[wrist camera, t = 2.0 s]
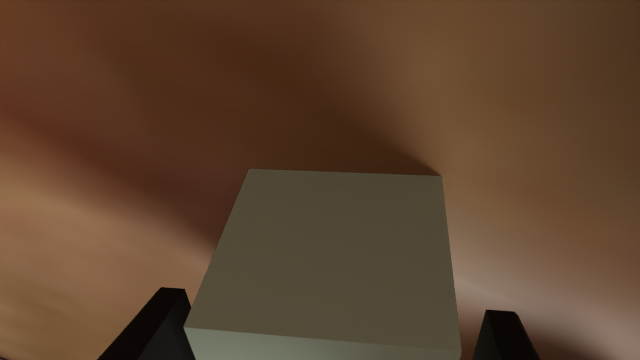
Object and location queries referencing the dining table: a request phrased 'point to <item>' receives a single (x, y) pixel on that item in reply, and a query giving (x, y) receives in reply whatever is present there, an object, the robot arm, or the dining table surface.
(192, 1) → the dining table surface
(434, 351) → the sage block
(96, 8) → the dining table surface
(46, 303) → the dining table surface
